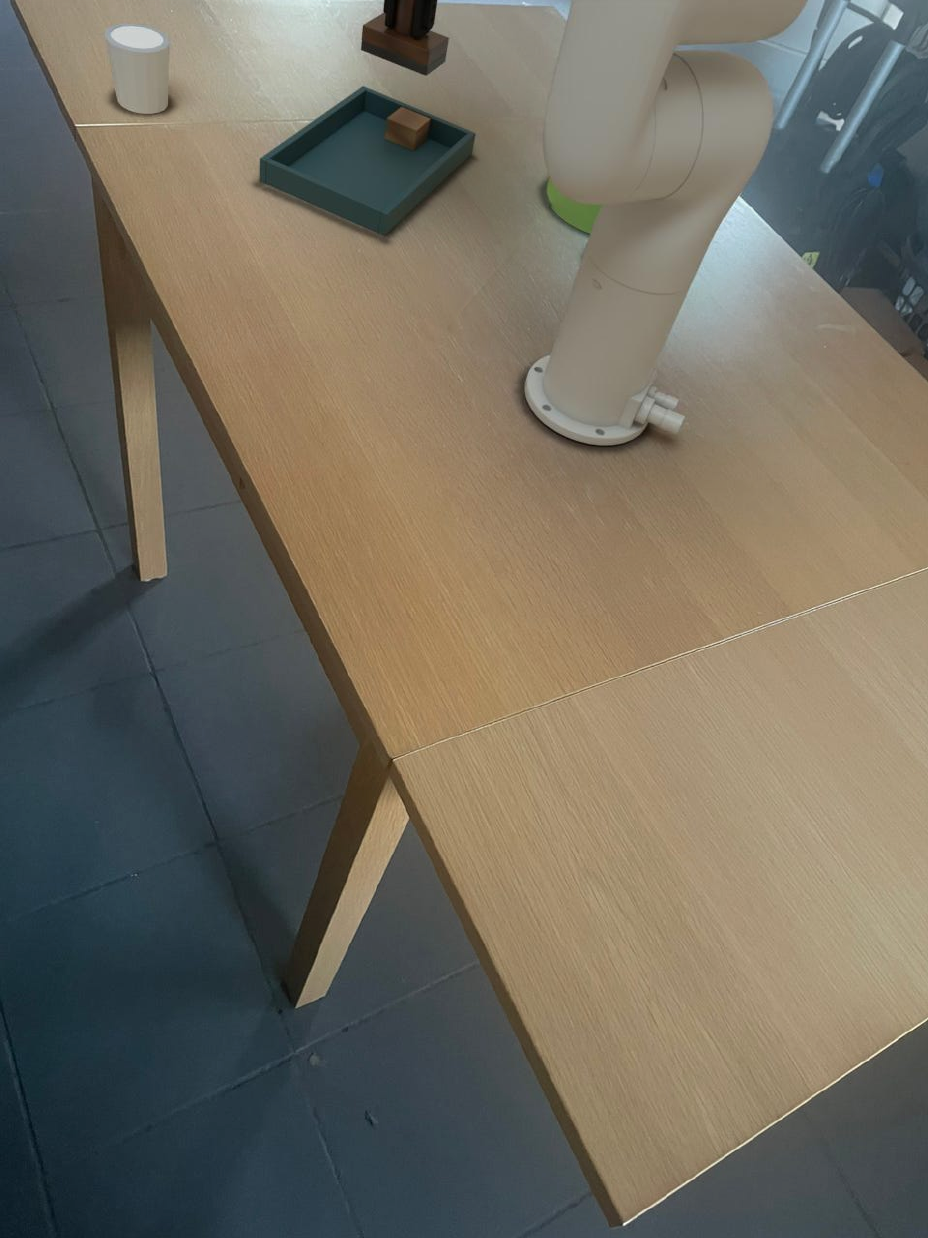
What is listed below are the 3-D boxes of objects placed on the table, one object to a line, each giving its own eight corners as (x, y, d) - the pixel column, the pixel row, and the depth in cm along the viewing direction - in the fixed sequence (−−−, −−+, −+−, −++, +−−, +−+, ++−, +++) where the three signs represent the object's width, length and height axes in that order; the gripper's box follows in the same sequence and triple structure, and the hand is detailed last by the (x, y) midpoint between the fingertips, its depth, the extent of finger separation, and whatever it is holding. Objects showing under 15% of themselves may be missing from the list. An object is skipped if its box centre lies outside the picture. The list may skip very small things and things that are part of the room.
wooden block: (427, 138, 114) (430, 118, 112) (413, 151, 111) (416, 130, 109) (398, 126, 114) (401, 106, 112) (384, 138, 112) (386, 117, 110)
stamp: (445, 61, 102) (458, -27, 95) (426, 76, 99) (438, -14, 92) (381, 36, 103) (390, -53, 96) (360, 50, 100) (368, -41, 93)
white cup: (105, 86, 107) (97, 21, 102) (165, 86, 110) (161, 22, 105) (119, 117, 104) (112, 51, 99) (180, 115, 107) (177, 51, 101)
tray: (471, 157, 114) (476, 133, 112) (384, 239, 100) (387, 214, 97) (360, 110, 116) (362, 85, 113) (259, 184, 101) (259, 157, 99)
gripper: (336, -215, 83) (323, 12, 98) (497, -156, 81) (460, 66, 96) (374, -224, 88) (357, -6, 102) (528, -169, 86) (488, 45, 100)
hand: (407, 27), depth 99 cm, fingers closed on stamp, 2 cm apart
